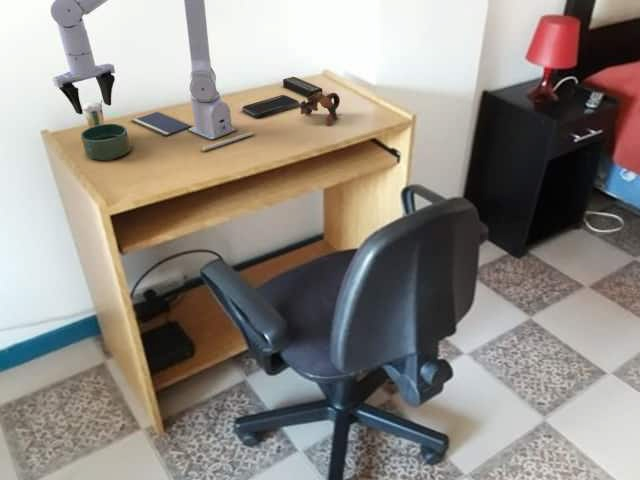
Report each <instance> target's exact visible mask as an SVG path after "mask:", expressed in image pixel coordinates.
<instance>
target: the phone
mask: <svg viewBox="0 0 640 480" xmlns="http://www.w3.org/2000/svg"><path fill="white" fill-rule="evenodd" d="M299 103H300V102H299V100H298V99H296V98H293V97H291V96H288V95H285V94H280V95H277V96H274V97H270V98H267V99H264V100H260V101H257V102H253V103H250V104H246V105H243V106H242V112H243V113H245V114H246V115H249V116H251V117H253V118H255V119H261V118H265V117H267V116H271V115H274V114H276V113H280V112H283V111H286V110H289V109H293V108H296V107H299V105H300V104H299Z"/></svg>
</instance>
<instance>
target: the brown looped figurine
mask: <svg viewBox="0 0 640 480" xmlns="http://www.w3.org/2000/svg"><path fill="white" fill-rule="evenodd" d="M332 100H333V101H332ZM340 102H341V99H340V96H339V94H338V93H336V92H331V93H329V94H327V95H324V94H323V91H322V92H318V93H316V94H314V95H312V96H311V97H309V98H307V101H306V100H303V101H302V102H301V103H300V104H299V106H298V107H299V108H300V115H305V116H310V115H311V114H312V112H313V111H314V112H317V111H319V108H318V104H320V105H321V107H322V108H324V109H327V110H328V112H329V114H328V115H327V116H326V117H325V119H324V120H325V121H326V124H327V125H328V126H330V125H332V124H334V123H335V122H336V121H337V120H338V116H337V109H338V107H339V105H340Z"/></svg>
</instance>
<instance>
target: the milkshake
mask: <svg viewBox="0 0 640 480" xmlns="http://www.w3.org/2000/svg"><path fill="white" fill-rule="evenodd" d="M103 109H104V108H103V100H100V102H98V101H87V102H85V103H84V104H83V105H82V111H83V114H84V117H85V119H86V121H87V124H88V128H90V127H93V126H97V125H102V124H106V121H105V114H104V110H103Z"/></svg>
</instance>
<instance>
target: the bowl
mask: <svg viewBox="0 0 640 480" xmlns="http://www.w3.org/2000/svg"><path fill="white" fill-rule="evenodd" d="M80 138H81V142H82V144H83V149H84V151H85V155H86V156H87V157H88V158H90V159H92V160H98V161H108V160H115V159H118V158H121V157H123V156H124V155H127V154H128V153H129V152H130V151H131V149H132V146H131V142H130V138H129V133H128V129H127V127H125V126H124V125H121V124H118V123H105V124H102V125H97V126H93V127H88V128H86V129H84V130H83V131H82V132H81V133H80Z"/></svg>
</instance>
